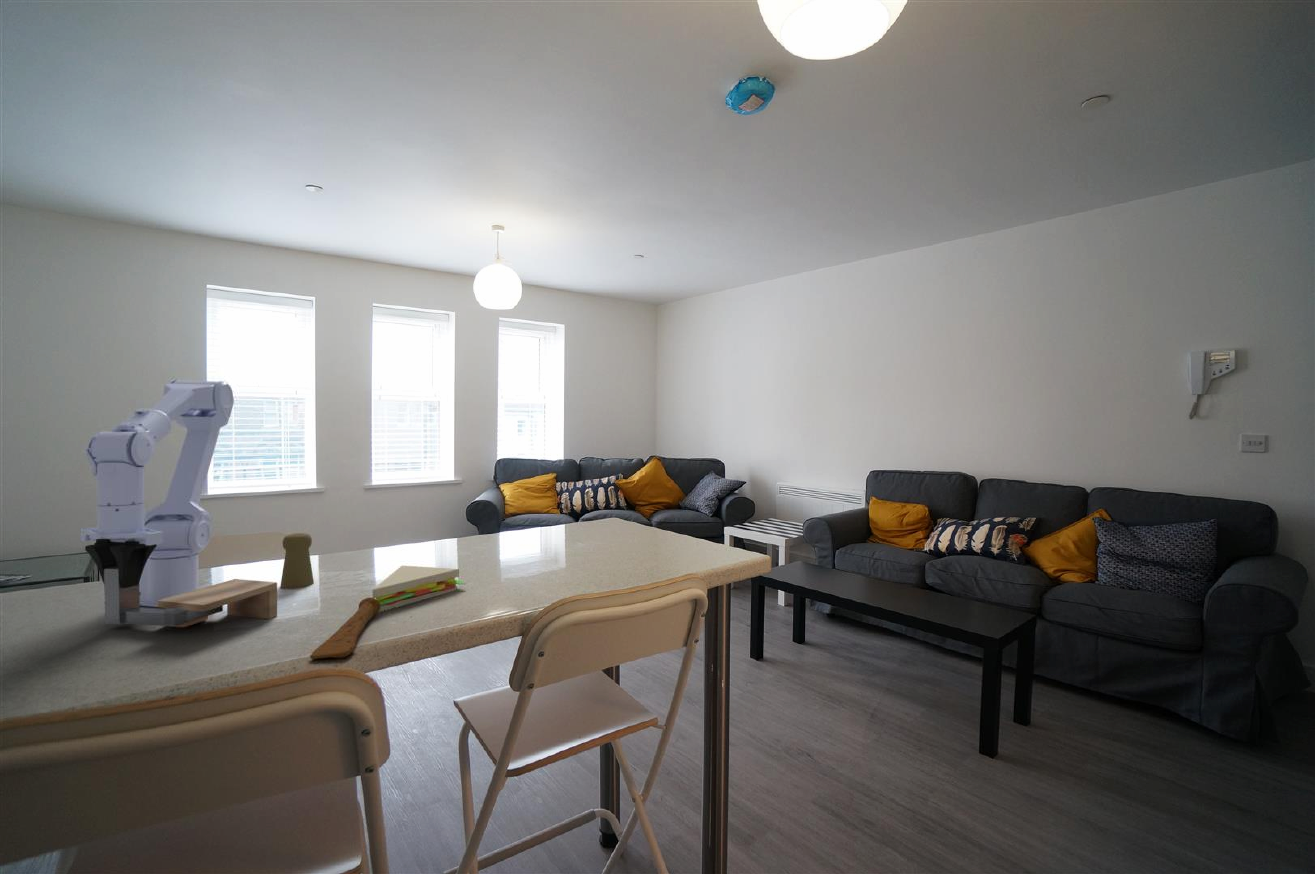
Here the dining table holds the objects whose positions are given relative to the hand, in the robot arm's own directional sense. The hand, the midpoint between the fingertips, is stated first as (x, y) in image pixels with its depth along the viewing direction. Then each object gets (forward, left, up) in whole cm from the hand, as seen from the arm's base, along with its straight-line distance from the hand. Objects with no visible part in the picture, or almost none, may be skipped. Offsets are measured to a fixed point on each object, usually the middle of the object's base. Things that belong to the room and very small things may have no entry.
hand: (121, 585), depth 93 cm
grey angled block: (0, 0, -6) cm, 6 cm away
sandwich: (+35, +25, -8) cm, 43 cm away
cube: (+8, +4, -7) cm, 11 cm away
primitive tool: (+35, +2, -5) cm, 36 cm away
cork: (+8, +27, -7) cm, 29 cm away
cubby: (+15, +4, -7) cm, 17 cm away
